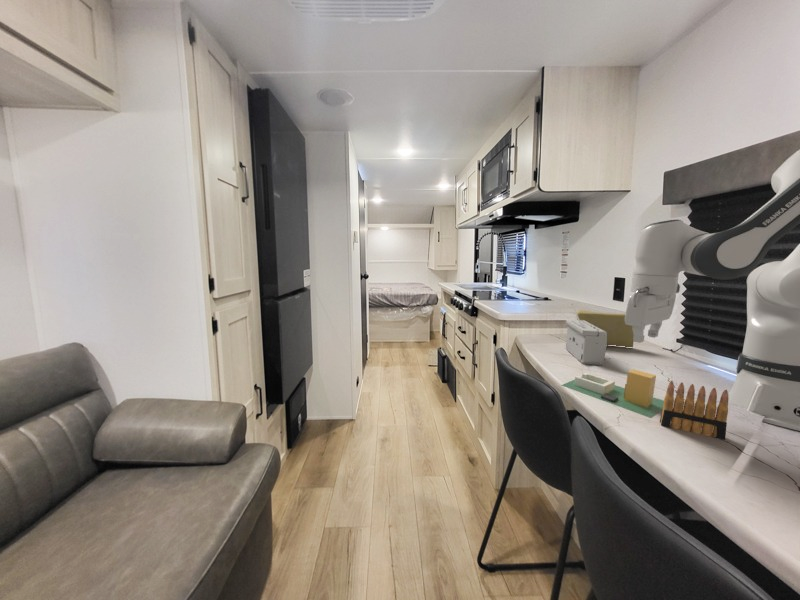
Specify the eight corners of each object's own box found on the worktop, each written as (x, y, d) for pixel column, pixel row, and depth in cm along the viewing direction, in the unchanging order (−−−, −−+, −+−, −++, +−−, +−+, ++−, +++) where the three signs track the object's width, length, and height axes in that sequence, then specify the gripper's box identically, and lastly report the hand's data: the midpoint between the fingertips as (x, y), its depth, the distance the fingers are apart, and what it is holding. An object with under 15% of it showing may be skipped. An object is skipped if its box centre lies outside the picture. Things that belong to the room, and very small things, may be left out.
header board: (670, 407, 82) (672, 394, 81) (650, 422, 74) (652, 408, 73) (584, 379, 100) (585, 368, 99) (560, 388, 92) (561, 377, 92)
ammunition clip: (660, 430, 71) (667, 381, 69) (658, 426, 72) (665, 378, 71) (724, 445, 65) (734, 392, 64) (721, 441, 67) (730, 389, 65)
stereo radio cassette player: (605, 367, 111) (611, 313, 108) (580, 365, 113) (585, 311, 110) (583, 349, 132) (587, 303, 129) (562, 348, 133) (566, 303, 130)
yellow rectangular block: (652, 404, 81) (656, 375, 80) (646, 407, 79) (650, 378, 78) (627, 396, 85) (630, 368, 84) (621, 399, 83) (625, 371, 82)
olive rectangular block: (630, 345, 138) (634, 313, 136) (634, 351, 130) (638, 317, 128) (574, 338, 149) (577, 308, 147) (574, 343, 141) (577, 311, 139)
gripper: (653, 289, 69) (644, 348, 71) (682, 285, 80) (674, 336, 82) (620, 286, 74) (613, 342, 76) (653, 283, 85) (646, 331, 87)
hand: (645, 339), depth 79 cm, fingers open, 8 cm apart
